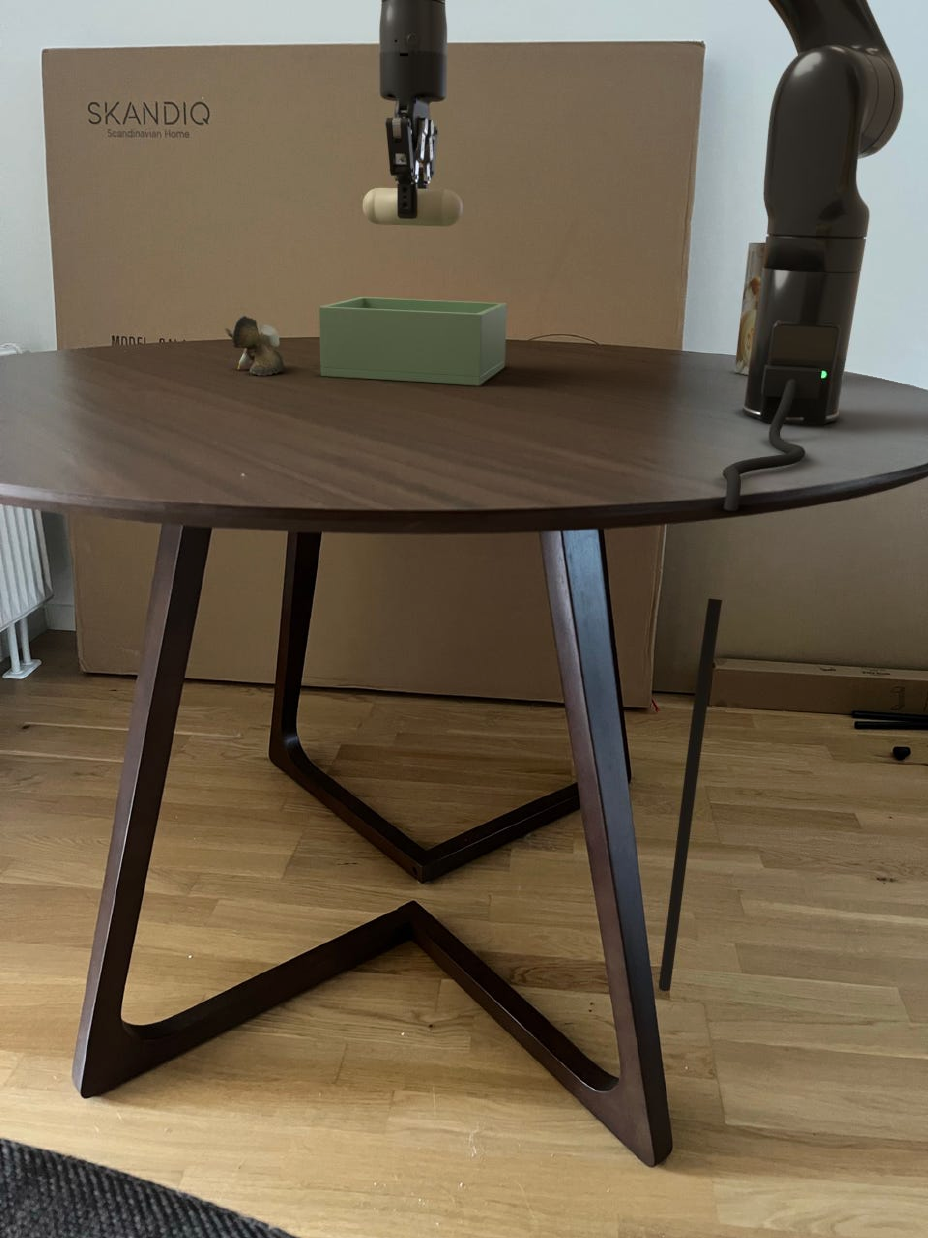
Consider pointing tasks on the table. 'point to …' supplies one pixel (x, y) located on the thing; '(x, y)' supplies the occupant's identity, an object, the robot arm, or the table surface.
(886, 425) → the table surface
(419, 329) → the bin
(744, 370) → the coffee box
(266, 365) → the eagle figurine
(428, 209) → the beige capsule
